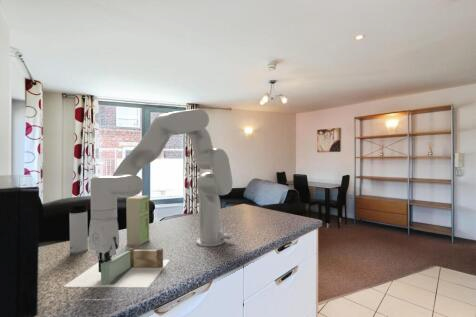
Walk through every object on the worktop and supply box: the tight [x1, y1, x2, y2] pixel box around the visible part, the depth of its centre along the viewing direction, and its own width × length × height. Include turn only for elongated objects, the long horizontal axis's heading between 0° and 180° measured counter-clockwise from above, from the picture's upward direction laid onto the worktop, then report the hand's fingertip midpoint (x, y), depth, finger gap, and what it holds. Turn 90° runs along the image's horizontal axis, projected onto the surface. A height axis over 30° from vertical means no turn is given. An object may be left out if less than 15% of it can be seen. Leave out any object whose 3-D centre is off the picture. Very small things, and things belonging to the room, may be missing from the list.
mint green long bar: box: [101, 250, 131, 284], centre depth 81 cm, size 12×2×6 cm, turn 167°
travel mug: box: [68, 204, 89, 256], centre depth 103 cm, size 6×7×20 cm
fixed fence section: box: [127, 247, 164, 268], centre depth 87 cm, size 12×2×6 cm, turn 87°
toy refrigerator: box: [125, 194, 150, 246], centre depth 114 cm, size 8×7×21 cm
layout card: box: [63, 259, 171, 288], centre depth 84 cm, size 26×20×1 cm
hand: (104, 270), depth 80 cm, fingers closed
